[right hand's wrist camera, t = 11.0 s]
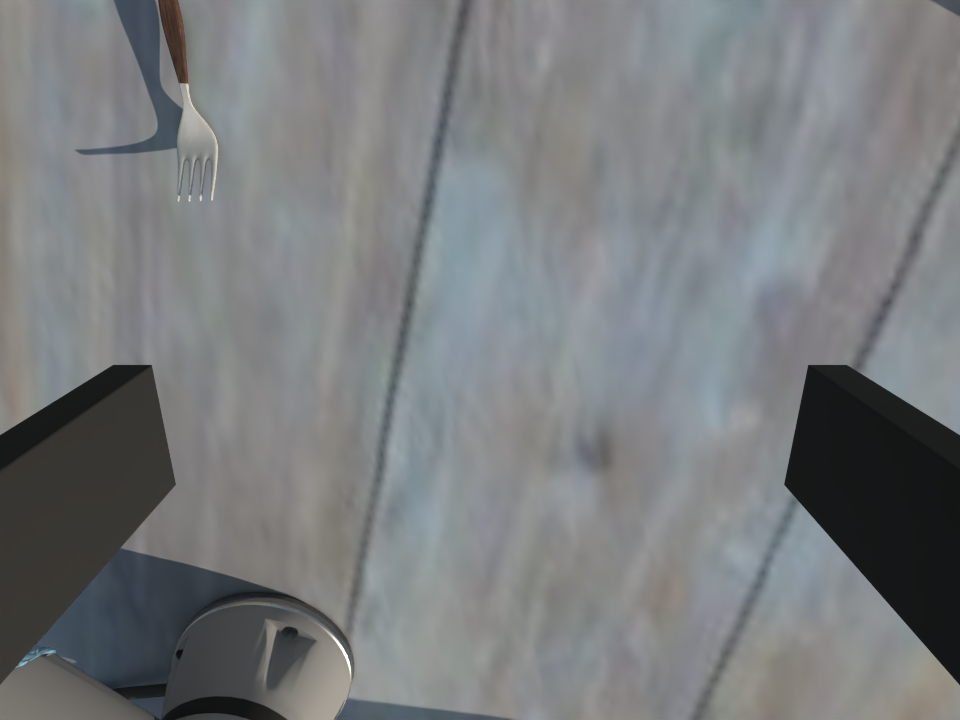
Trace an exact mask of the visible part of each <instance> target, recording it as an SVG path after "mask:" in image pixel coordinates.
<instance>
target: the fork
mask: <svg viewBox="0 0 960 720" xmlns="http://www.w3.org/2000/svg"><path fill="white" fill-rule="evenodd" d="M158 1H159V9H160V15H161V21H162V25H163V29H164V33H165V37H166V40H167V44H168V47H169V51H170V54H171V57H172V61H173V64H174V68H175V71H176V74H177V78H178V81H179V85H180V88H181V92H182V97H183V112H182V116H181V120H180V124H179V128H178V134H177V157H178V193H177V201H178V202H179V198H180V192H181V185H182V178H183V169H184V163H185V161H186V160H188V162H189V196H188V200H189V201H190V199H191V192H192V186H193V178H194V169H195V163H196V161H197V160H199V162H200V198H199V200H200V201H201V199H202V193H203V186H204V178H205V169H206V163H207V160H210V161H211V198H210V200H211V201H212V200H213V193H214V186H215V179H216V169H217V157H218V144H217V140H216V137H215V135H214V133H213V131H212V130H211V128H210V127H209V126H208V124H207V123H206V122H205V121H204V119H203V118H202V117H201V116H200V115H199V113H198V112H197V111H196V110H195V108H194V106H193V105H192V103H191V100H190V95H189V87H188V74H187V60H186V47H185V35H184V27H183V21H182V16H181V11H180V7H179V4H178V0H158Z"/></svg>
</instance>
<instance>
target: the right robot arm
mask: <svg viewBox="0 0 960 720" xmlns="http://www.w3.org/2000/svg"><path fill="white" fill-rule="evenodd" d="M175 485H176V484H175V479H174V474H173V469H172V464H171V459H170V454H169V449H168V444H167V439H166V434H165V429H164V424H163V419H162V414H161V409H160V404H159V399H158V394H157V389H156V384H155V379H154V374H153V370H152V365H113V366H111V367H109V368H108V369H106V370H105V371H103V372H101V373H100V374H98V375H96V376H95V377H93V378H92V379H90V380H88V381H87V382H85V383H84V384H82V385H80V386H79V387H77V388H76V389H74V390H72V391H71V392H69V393H67V394H66V395H64V396H63V397H61V398H59V399H58V400H56V401H55V402H53V403H51V404H50V405H48V406H47V407H45V408H43V409H42V410H40V411H39V412H37V413H35V414H34V415H32V416H30V417H29V418H27V419H26V420H24V421H22V422H21V423H19V424H18V425H16V426H14V427H13V428H11V429H10V430H8V431H6V432H5V433H3V434H1V435H0V720H336V718H337V717H338V715H339V714H340V712H341V711H342V709H343V707H344V704H345V702H346V700H347V698H348V695H349V692H350V688H351V683H352V679H353V674H354V659H353V654H352V651H351V648H350V645H349V643H348V641H347V639H346V638H345V636H344V635H343V633H342V632H341V630H340V629H339V628H338V627H337V626H336V625H335V624H334V623H333V622H332V621H331V620H330V619H329V618H328V617H327V616H325V615H324V614H323V613H321V612H320V611H318V610H317V609H315V608H313V607H312V606H310V605H307V604H305V603H303V602H301V601H298V600H296V599H293V598H289V597H286V596H281V595H276V594H269V593H245V594H238V595H233V596H229V597H226V598H223V599H220V600H218V601H216V602H214V603H212V604H210V605H208V606H207V607H205V608H204V609H202V610H201V611H200V612H199V613H198V614H197V615H196V616H195V617H194V618H193V619H192V620H191V621H190V623H189V624H188V626H187V628H186V629H185V631H184V633H183V634H182V636H181V638H180V639H179V641H178V643H177V646H176V649H175V651H174V654H173V657H172V661H171V666H170V674H169V678H168V683H167V684H157V685H146V686H135V687H126V688H117V689H110V688H109V687H107V686H106V685H104V684H102V683H101V682H99V681H98V680H96V679H94V678H93V677H91V676H90V675H88V674H86V673H85V672H83V671H82V670H80V669H79V668H77V667H75V666H74V665H72V664H71V663H69V662H67V661H66V660H64V659H63V658H61V657H59V656H58V655H56V650H54V649H53V648H49V647H41V646H39V645H37V644H36V643H37V642H38V641H39V640H40V639H41V638H42V637H43V636H44V634H45V633H46V632H47V631H48V630H49V629H50V628H51V626H52V625H53V624H54V623H55V622H56V621H57V620H58V618H59V617H60V616H61V615H62V614H63V613H64V612H65V610H66V609H67V608H68V607H69V606H70V605H71V604H72V602H73V601H74V600H75V599H76V598H77V597H78V596H79V594H80V593H81V592H82V591H83V590H84V589H85V588H86V586H87V585H88V584H89V583H90V582H91V581H92V580H93V578H94V577H95V576H96V575H97V574H98V573H99V572H100V570H101V569H102V568H103V567H104V566H105V565H106V564H107V562H108V561H109V560H110V559H111V558H112V557H113V556H114V554H115V553H116V552H117V551H118V550H119V549H120V548H121V546H122V545H123V544H124V543H125V542H126V541H127V540H128V539H129V537H130V536H131V535H132V534H133V533H134V532H135V531H136V529H137V528H138V527H139V526H140V525H141V524H142V523H143V521H144V520H145V519H146V518H147V517H148V516H149V515H150V513H151V512H152V511H153V510H154V509H155V508H156V507H157V505H158V504H159V503H160V502H161V501H162V500H163V499H164V497H165V496H166V495H167V494H168V493H169V492H170V491H171V489H172V488H173V487H174V486H175ZM784 485H785V486H786V487H787V488H788V489H789V491H790V492H791V493H792V494H793V495H794V496H795V497H796V499H797V500H798V501H799V502H800V503H801V504H802V505H803V507H804V508H805V509H806V510H807V511H808V512H809V513H810V515H811V516H812V517H813V518H814V519H815V520H816V521H817V523H818V524H819V525H820V526H821V527H822V528H823V529H824V531H825V532H826V533H827V534H828V535H829V536H830V537H831V539H832V540H833V541H834V542H835V543H836V544H837V545H838V546H839V548H840V549H841V550H842V551H843V552H844V553H845V554H846V556H847V557H848V558H849V559H850V560H851V561H852V562H853V564H854V565H855V566H856V567H857V568H858V569H859V570H860V572H861V573H862V574H863V575H864V576H865V577H866V578H867V580H868V581H869V582H870V583H871V584H872V585H873V586H874V588H875V589H876V590H877V591H878V592H879V593H880V594H881V596H882V597H883V598H884V599H885V600H886V601H887V602H888V604H889V605H890V606H891V607H892V608H893V609H894V610H895V612H896V613H897V614H898V615H899V616H900V617H901V618H902V620H903V621H904V622H905V623H906V624H907V625H908V626H909V628H910V629H911V630H912V631H913V632H914V633H915V634H916V636H917V637H918V638H919V639H920V640H921V641H922V642H923V643H924V645H925V646H926V647H927V648H928V649H929V650H930V651H931V653H932V654H933V655H934V656H935V657H936V658H937V659H938V661H939V662H940V663H941V664H942V665H943V666H944V667H945V669H946V670H947V671H948V672H949V673H950V674H951V675H952V677H953V678H954V679H955V680H956V681H957V682H958V683H959V685H960V435H959V434H957V433H955V432H954V431H952V430H950V429H949V428H947V427H946V426H944V425H942V424H941V423H939V422H938V421H936V420H934V419H933V418H931V417H930V416H928V415H926V414H925V413H923V412H921V411H920V410H918V409H917V408H915V407H913V406H912V405H910V404H909V403H907V402H905V401H904V400H902V399H901V398H899V397H897V396H896V395H894V394H893V393H891V392H889V391H888V390H886V389H884V388H883V387H881V386H880V385H878V384H876V383H875V382H873V381H872V380H870V379H868V378H867V377H865V376H864V375H862V374H860V373H859V372H857V371H855V370H854V369H852V368H851V367H849V366H847V365H808V370H807V374H806V379H805V384H804V389H803V394H802V399H801V404H800V409H799V414H798V419H797V424H796V429H795V434H794V439H793V444H792V449H791V454H790V459H789V464H788V469H787V474H786V479H785V484H784ZM160 696H165V699H164V705H163V710H162V716H161V719H158V718H157V717H155V716H154V715H152V714H151V713H149V712H147V711H146V710H144V709H142V708H141V707H139V706H137V705H136V704H134V703H132V702H131V701H129V700H128V699H138V698H149V697H160ZM343 720H345V717H344V718H343Z"/></svg>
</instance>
